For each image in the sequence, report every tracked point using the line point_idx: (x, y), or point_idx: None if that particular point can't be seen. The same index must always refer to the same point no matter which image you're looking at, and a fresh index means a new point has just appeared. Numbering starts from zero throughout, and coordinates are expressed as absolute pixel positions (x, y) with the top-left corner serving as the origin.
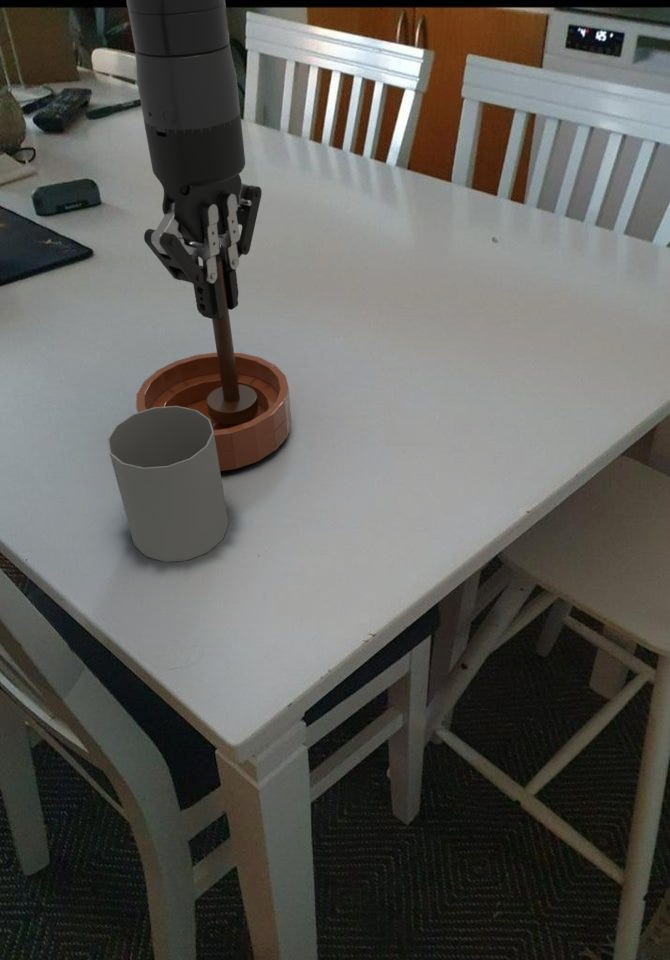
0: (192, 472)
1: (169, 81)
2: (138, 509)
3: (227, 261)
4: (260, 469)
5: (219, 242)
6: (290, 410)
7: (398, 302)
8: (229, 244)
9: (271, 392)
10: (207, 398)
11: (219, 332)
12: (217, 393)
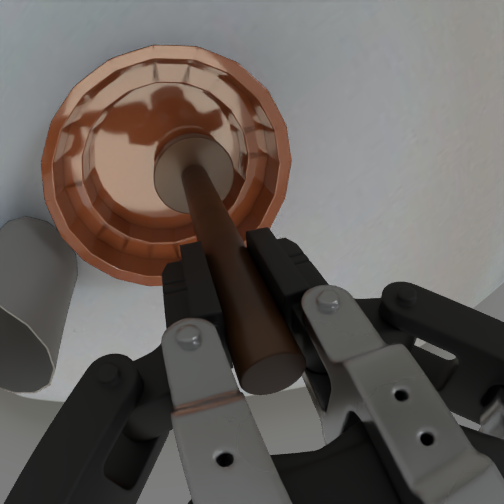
0: (17, 378)
1: None
2: None
3: (304, 372)
4: None
5: (330, 415)
6: None
7: (474, 154)
8: (325, 436)
9: (248, 199)
10: (168, 149)
11: None
12: (189, 149)
